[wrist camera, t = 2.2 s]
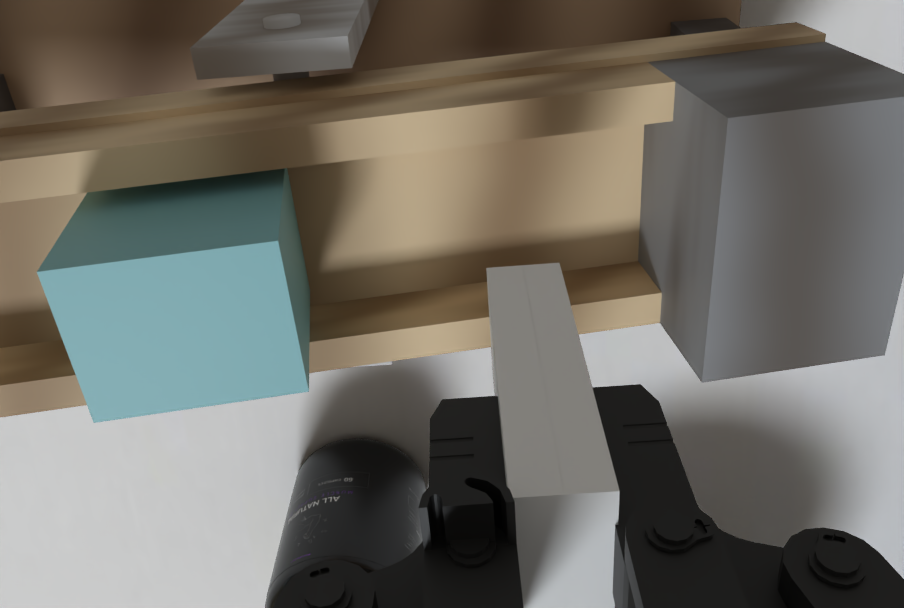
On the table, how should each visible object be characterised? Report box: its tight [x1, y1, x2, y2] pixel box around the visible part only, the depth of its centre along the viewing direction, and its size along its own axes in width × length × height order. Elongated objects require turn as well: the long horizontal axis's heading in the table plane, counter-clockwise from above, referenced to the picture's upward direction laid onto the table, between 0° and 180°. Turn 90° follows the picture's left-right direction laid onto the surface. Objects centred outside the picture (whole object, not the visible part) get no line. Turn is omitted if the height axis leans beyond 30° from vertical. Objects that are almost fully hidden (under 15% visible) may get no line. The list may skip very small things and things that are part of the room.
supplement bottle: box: [265, 439, 426, 608], centre depth 38 cm, size 7×7×12 cm
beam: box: [0, 22, 904, 417], centre depth 21 cm, size 29×7×7 cm, turn 95°
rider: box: [37, 168, 310, 423], centre depth 20 cm, size 5×4×5 cm
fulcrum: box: [0, 0, 742, 367], centre depth 28 cm, size 30×12×11 cm, turn 94°
